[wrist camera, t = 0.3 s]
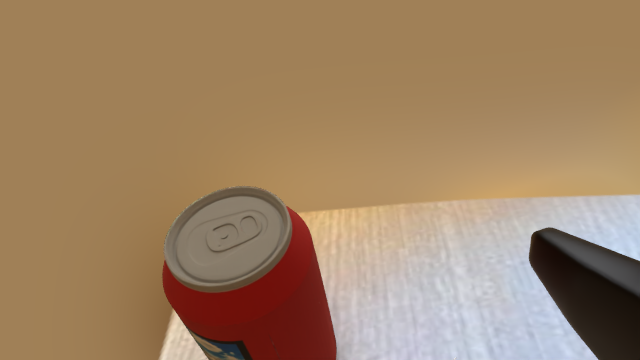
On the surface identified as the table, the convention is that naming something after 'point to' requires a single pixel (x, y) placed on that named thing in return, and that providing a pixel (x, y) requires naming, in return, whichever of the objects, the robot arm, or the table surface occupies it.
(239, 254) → the beverage can
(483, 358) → the table surface
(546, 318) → the table surface
